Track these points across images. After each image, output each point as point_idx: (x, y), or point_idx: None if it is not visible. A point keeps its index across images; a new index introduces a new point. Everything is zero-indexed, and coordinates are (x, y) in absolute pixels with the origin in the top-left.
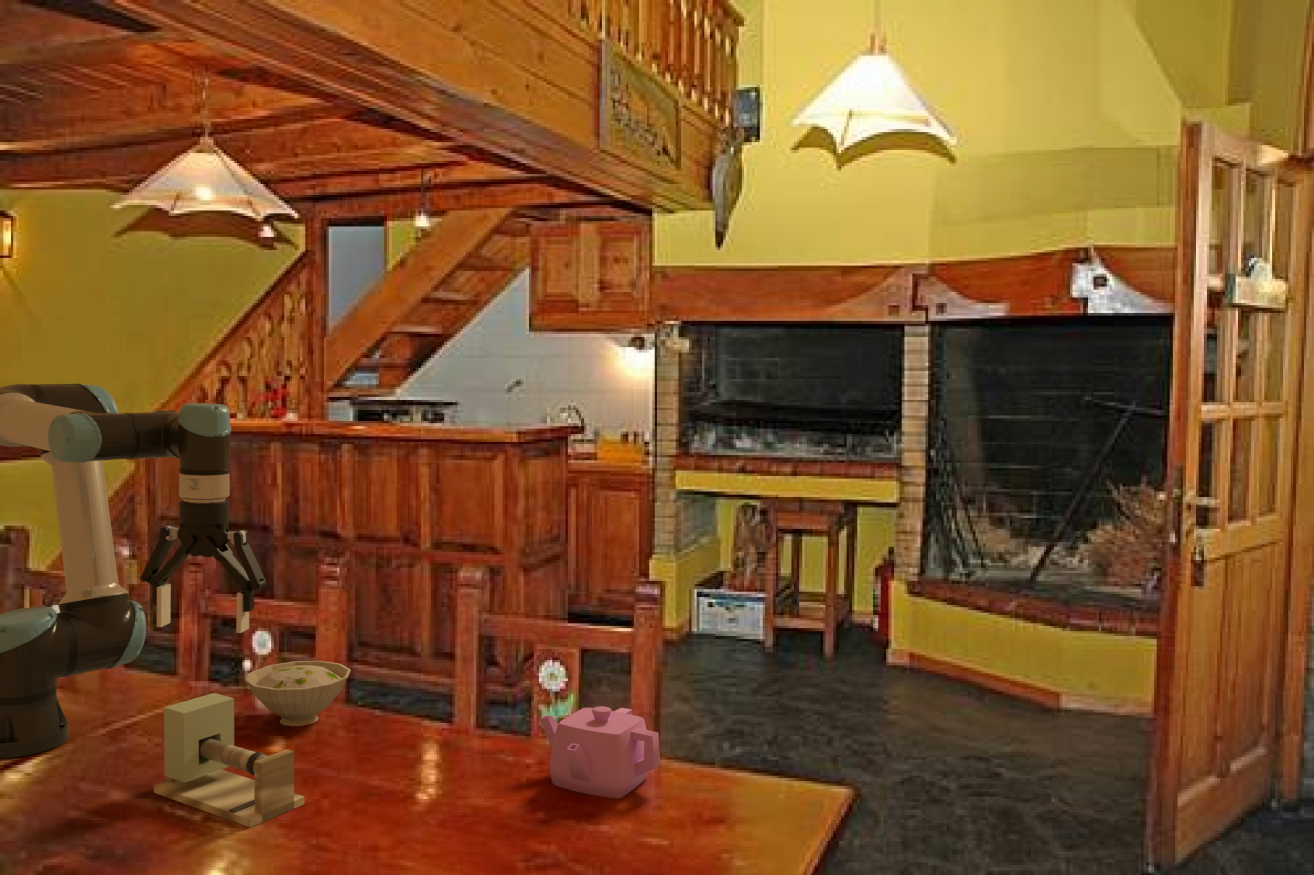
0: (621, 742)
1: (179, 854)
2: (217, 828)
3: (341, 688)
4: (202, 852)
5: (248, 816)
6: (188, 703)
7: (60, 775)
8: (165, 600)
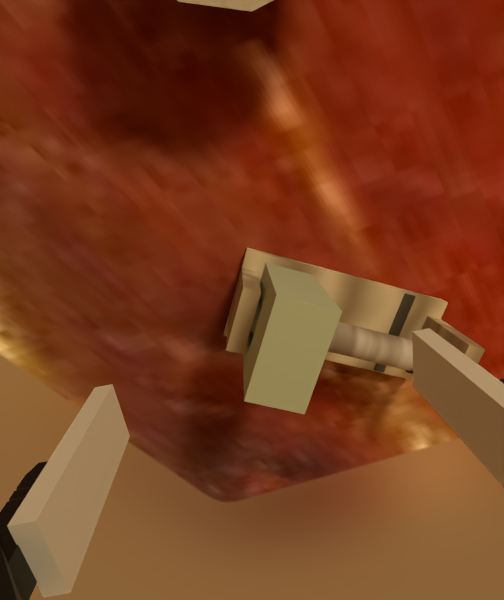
0: None
1: (368, 445)
2: (371, 387)
3: None
4: (389, 435)
5: (406, 374)
6: (273, 368)
7: (51, 325)
8: (87, 489)
